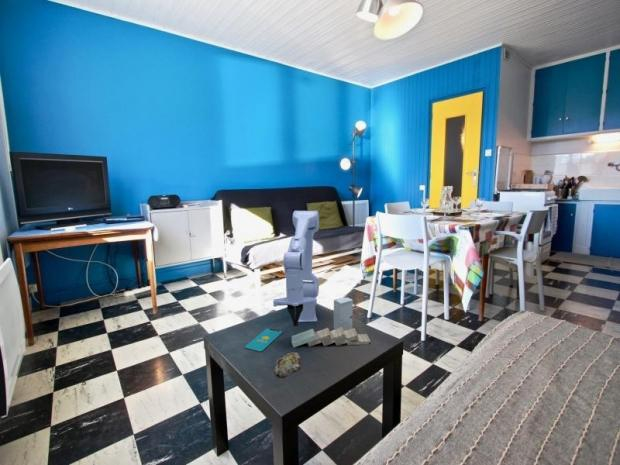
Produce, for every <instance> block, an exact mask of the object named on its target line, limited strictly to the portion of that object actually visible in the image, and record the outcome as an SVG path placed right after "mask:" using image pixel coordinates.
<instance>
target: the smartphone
mask: <svg viewBox="0 0 620 465" xmlns="http://www.w3.org/2000/svg"><path fill="white" fill-rule="evenodd" d="M283 333H284V332H283V331H282V330H279V329H278V330H277V329H272V328H266V329H264V330H263V331H262V332H260V333H259V334H258V335H257V336H256V337H254V338H253V339H252V340H251V341H250V342H248V343H247V344H246V345H245V346H244V349H245V350H250V351H253V352H256V353H262V352H264V351H265V350H266V349H267V348H268V347H270V345H272V344H273V343H274V342H275V341H276V340H277V339H278V338H279V337H280V336H281V335H283Z"/></svg>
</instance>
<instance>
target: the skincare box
mask: <svg viewBox="0 0 620 465" xmlns="http://www.w3.org/2000/svg"><path fill="white" fill-rule="evenodd" d="M353 305H354V300H353V299H352V298H349V297H348V296H343V297H338V298H335V299H333V330H335V329H338V328H340V327H342V328H343V330H344V331H346V330H349V329H353V318H354V317H353V316H354V315H353V314H354V313H353V312H354V310H353V308H354V307H353Z"/></svg>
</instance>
